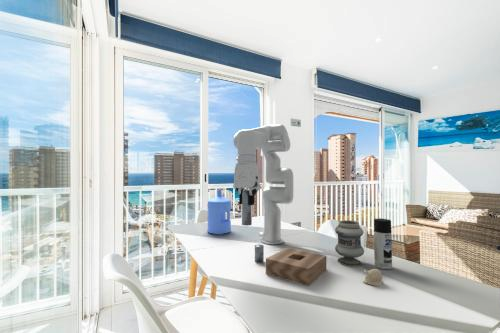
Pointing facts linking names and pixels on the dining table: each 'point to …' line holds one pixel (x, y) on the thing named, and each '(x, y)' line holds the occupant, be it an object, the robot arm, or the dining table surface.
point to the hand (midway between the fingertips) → (246, 204)
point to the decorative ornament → (373, 277)
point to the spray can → (382, 243)
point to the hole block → (296, 265)
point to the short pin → (259, 253)
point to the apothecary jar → (349, 242)
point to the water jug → (219, 214)
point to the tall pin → (246, 209)
